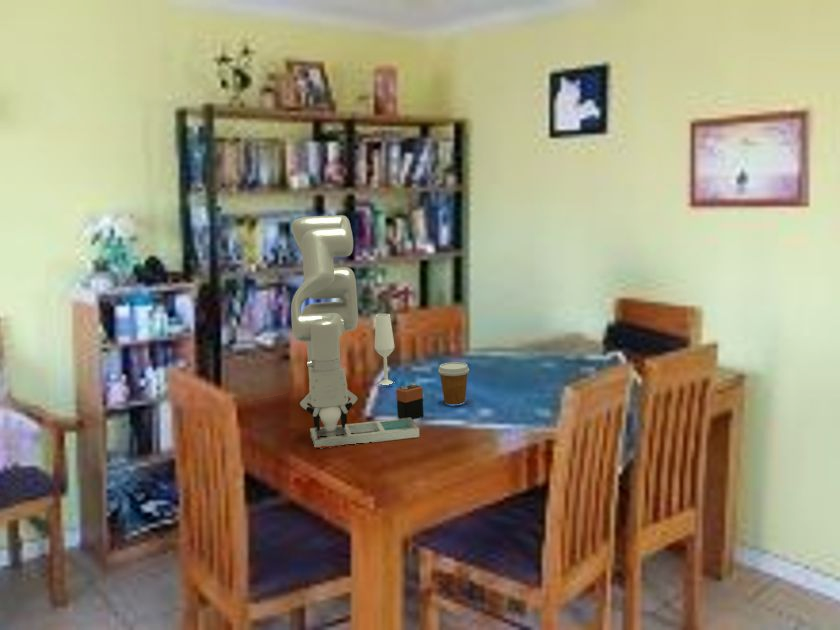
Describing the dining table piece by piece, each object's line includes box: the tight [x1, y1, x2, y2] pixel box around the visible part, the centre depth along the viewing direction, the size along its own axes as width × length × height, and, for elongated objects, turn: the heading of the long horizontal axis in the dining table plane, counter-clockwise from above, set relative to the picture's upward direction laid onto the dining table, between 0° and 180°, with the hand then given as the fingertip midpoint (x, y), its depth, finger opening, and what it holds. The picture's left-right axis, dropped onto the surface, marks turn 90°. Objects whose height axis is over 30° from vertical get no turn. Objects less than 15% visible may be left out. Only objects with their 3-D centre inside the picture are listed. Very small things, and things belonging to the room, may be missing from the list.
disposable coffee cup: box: [437, 361, 470, 404], centre depth 265 cm, size 10×10×12 cm
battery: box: [396, 382, 424, 420], centre depth 253 cm, size 4×7×10 cm, turn 128°
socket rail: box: [309, 417, 420, 448], centre depth 238 cm, size 10×29×2 cm, turn 103°
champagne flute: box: [374, 313, 395, 385], centre depth 288 cm, size 7×7×24 cm
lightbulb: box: [318, 406, 341, 437], centre depth 235 cm, size 6×6×11 cm
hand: (330, 427), depth 236 cm, fingers closed on lightbulb, 6 cm apart
